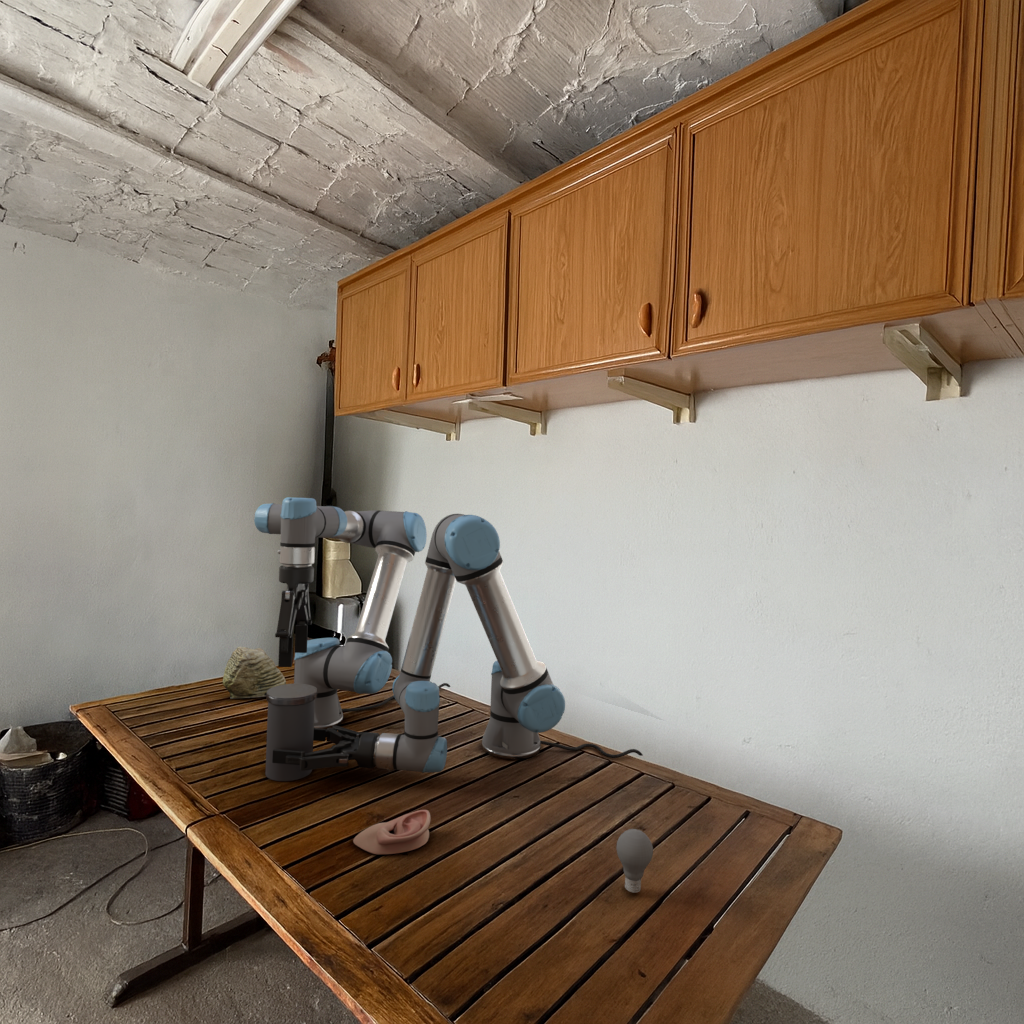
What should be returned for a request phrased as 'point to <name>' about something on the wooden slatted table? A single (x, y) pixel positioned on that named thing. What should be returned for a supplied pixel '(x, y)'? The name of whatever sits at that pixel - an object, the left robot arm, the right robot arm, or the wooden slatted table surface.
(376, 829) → the anatomical model
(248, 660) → the fossil
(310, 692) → the lid
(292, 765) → the jar
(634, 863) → the light bulb
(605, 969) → the wooden slatted table surface
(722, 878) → the wooden slatted table surface
